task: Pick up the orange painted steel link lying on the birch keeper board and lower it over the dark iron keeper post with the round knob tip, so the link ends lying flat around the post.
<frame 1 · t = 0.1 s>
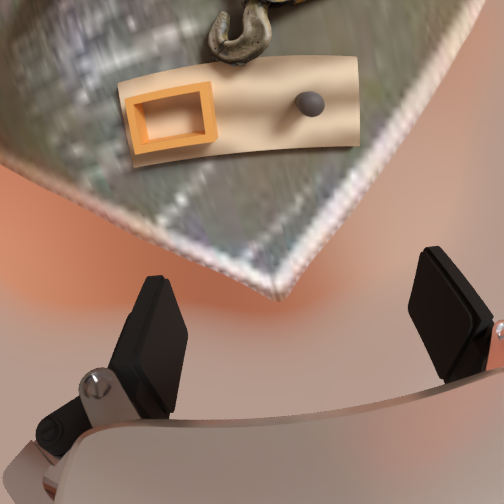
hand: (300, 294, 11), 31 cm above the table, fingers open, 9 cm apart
link: (175, 115, 34), point 1 cm above the table, touching keeper board
keeper board: (239, 105, 35), on the table
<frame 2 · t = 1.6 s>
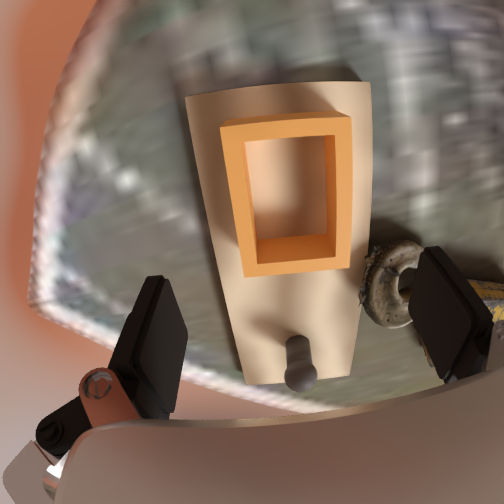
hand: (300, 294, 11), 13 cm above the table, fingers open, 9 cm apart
link: (288, 185, 20), point 1 cm above the table, touching keeper board
pulley block: (450, 302, 28), on the table, touching keeper board
keeper board: (293, 268, 26), on the table
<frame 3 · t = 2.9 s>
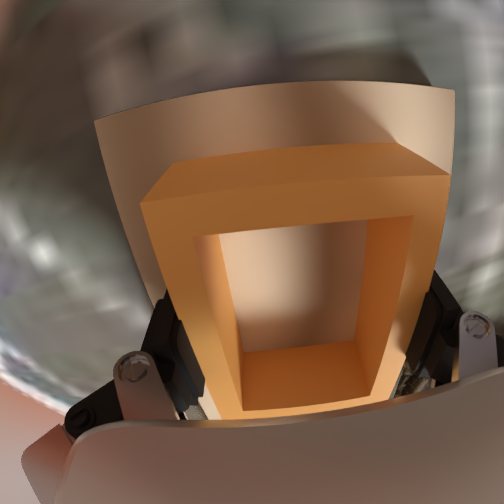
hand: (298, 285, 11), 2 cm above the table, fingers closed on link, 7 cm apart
link: (297, 279, 11), point 1 cm above the table, touching gripper, keeper board
pulley block: (485, 371, 20), on the table, touching keeper board
keeper board: (297, 369, 17), on the table
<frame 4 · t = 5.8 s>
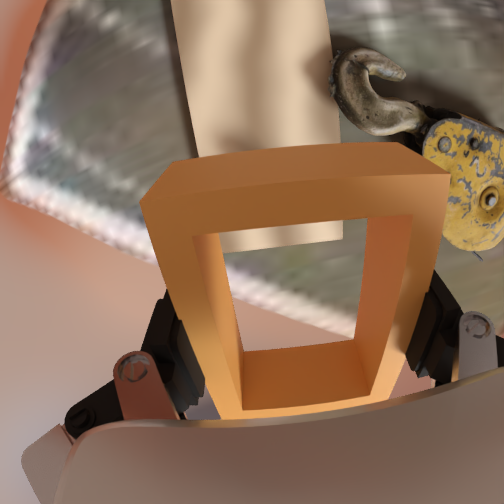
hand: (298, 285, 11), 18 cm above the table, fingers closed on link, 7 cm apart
link: (297, 279, 11), point 17 cm above the table, touching gripper
pulley block: (442, 151, 25), on the table, touching keeper board
keeper board: (261, 84, 23), on the table
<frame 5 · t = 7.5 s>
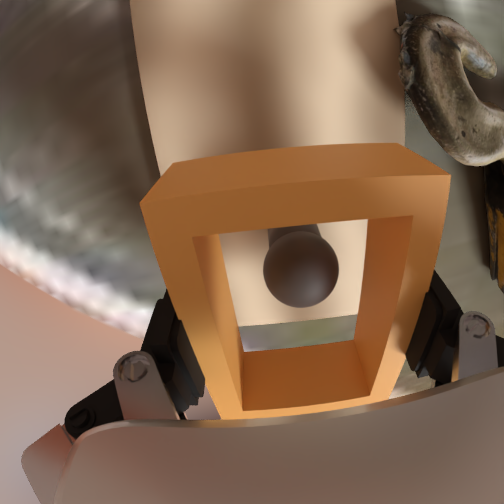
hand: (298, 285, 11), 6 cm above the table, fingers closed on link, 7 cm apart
link: (297, 279, 11), point 6 cm above the table, touching gripper
keeper board: (273, 62, 12), on the table
when the fingers open (3 cm above the table, at t = 8.7 s): link drops 2 cm, resting on keeper board.
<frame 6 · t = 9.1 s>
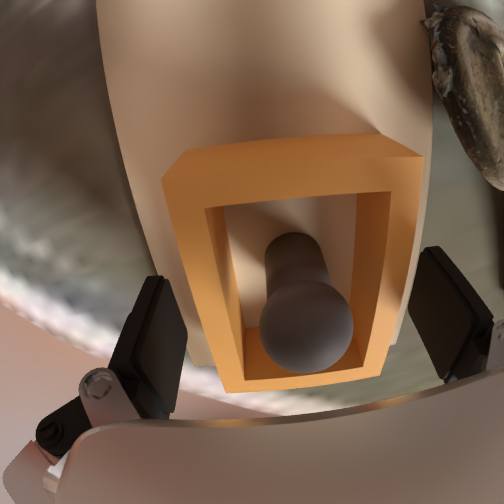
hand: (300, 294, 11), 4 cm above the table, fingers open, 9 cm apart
link: (294, 257, 13), point 1 cm above the table, touching keeper board
keeper board: (271, 58, 10), on the table
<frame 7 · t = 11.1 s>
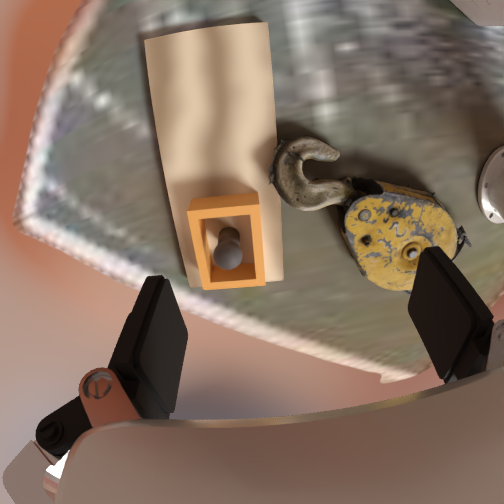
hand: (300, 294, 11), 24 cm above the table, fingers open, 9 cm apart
link: (229, 236, 35), point 1 cm above the table, touching keeper board
pulley block: (373, 210, 35), on the table, touching keeper board
keeper board: (221, 165, 32), on the table
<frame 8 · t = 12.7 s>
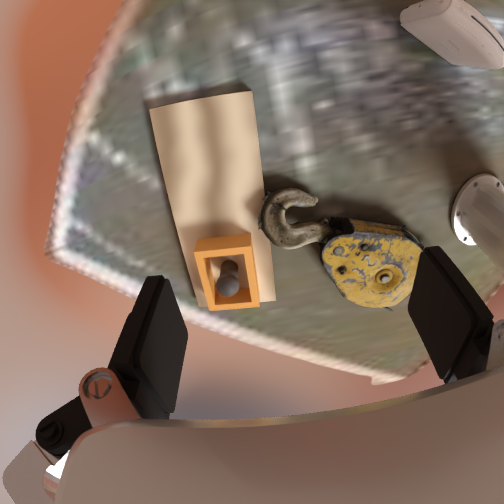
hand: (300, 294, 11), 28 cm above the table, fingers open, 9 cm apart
link: (229, 267, 43), point 1 cm above the table, touching keeper board
photo printer: (429, 35, 26), on the table
pulley block: (351, 242, 42), on the table, touching keeper board
keeper board: (220, 211, 40), on the table
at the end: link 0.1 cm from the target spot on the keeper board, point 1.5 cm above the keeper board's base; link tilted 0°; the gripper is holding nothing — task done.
